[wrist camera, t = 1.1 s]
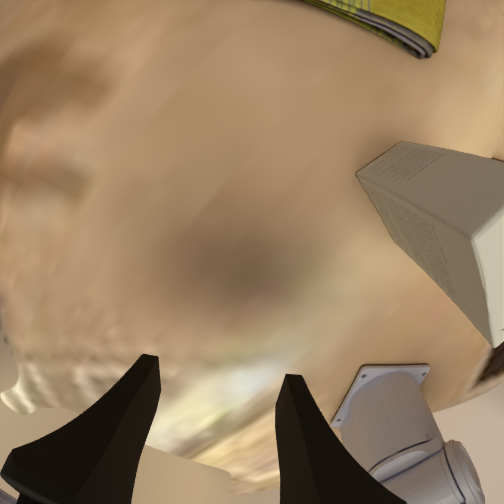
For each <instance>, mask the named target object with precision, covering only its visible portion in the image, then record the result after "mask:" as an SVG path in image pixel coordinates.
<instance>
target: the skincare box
mask: <svg viewBox="0 0 504 504" xmlns="http://www.w3.org/2000/svg"><path fill="white" fill-rule="evenodd" d="M356 176H357V177H358V179H359V181H360V182H361V184H362V186H363V187H364V189H365V190H366V192H367V194H368V195H369V197H370V199H371V200H372V202H373V204H374V206H375V207H376V209H377V211H378V212H379V214H380V216H381V218H382V220H383V221H384V223H385V225H386V227H387V228H388V230H389V232H390V234H391V236H392V238H393V240H394V242H395V243H396V244H397V245H398V246H399V247H400V248H401V249H402V250H403V251H404V252H405V253H406V254H407V255H408V256H409V257H410V258H411V259H413V260H414V261H415V262H416V263H417V264H418V265H419V266H420V267H421V268H422V269H423V270H424V271H425V272H426V273H427V274H428V275H429V276H430V277H431V278H432V279H433V280H434V281H435V283H436V284H437V285H438V286H439V287H440V288H441V289H442V290H443V291H444V292H445V293H446V294H447V295H448V296H449V297H450V298H451V300H452V301H453V302H454V303H455V304H456V305H457V306H458V307H459V308H460V309H461V311H462V312H463V313H464V314H465V315H466V316H467V317H468V319H469V320H470V321H471V322H472V323H473V325H474V326H475V327H476V328H477V329H478V330H479V332H480V333H481V334H482V335H483V336H484V337H485V338H486V340H487V341H488V342H489V343H490V344H491V345H492V346H493V347H494V348H496V347H497V346H499V345H500V344H501V343H502V342H503V341H504V162H501V161H497V160H493V159H490V158H485V157H481V156H477V155H473V154H468V153H464V152H459V151H455V150H450V149H445V148H439V147H434V146H428V145H422V144H416V143H410V142H400V143H398V144H397V145H395V146H394V147H393V148H391V149H390V150H389V151H387V152H386V153H384V154H383V155H382V156H380V157H379V158H377V159H376V160H374V161H373V162H371V163H370V164H368V165H367V166H365V167H364V168H363V169H361V170H360V171H358V172H357V173H356Z"/></svg>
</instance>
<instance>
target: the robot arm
mask: <svg viewBox="0 0 504 504" xmlns="http://www.w3.org/2000/svg"><path fill="white" fill-rule="evenodd" d="M429 370H430V366H429V365H402V366H364V367H362V368H361V369H360V371H359V373H358V375H357V377H356V379H355V381H354V383H353V385H352V387H351V388H350V390H349V392H348V394H347V396H346V398H345V399H344V401H343V403H342V405H341V407H340V408H339V410H338V412H337V414H336V415H335V417H334V419H333V420H332V422H331V426H332V427H340V432H341V437H342V442H343V444H342V443H341V442H340V440H339V439H338V438H337V436H336V435H335V433H334V432H333V431H332V429H331V428H330V426H329V425H328V423H327V421H326V420H325V418H324V416H323V415H322V413H321V411H320V410H319V408H318V406H317V404H316V402H315V401H314V399H313V397H312V395H311V393H310V391H309V389H308V387H307V385H306V383H305V380H304V378H303V376H302V375H295V374H286V375H285V378H284V381H283V384H282V387H281V390H280V393H279V396H278V399H277V402H276V410H275V430H276V440H277V450H278V459H279V468H280V504H485V497H484V494H483V492H482V489H481V485H480V481H479V478H478V475H477V472H476V469H475V467H474V465H473V463H472V461H471V459H470V457H469V455H468V453H467V451H466V449H465V448H464V446H463V445H462V443H461V442H459V441H454V440H449V441H448V442H447V443H446V442H445V441H444V440H443V437H442V435H441V433H440V431H439V428H438V426H437V424H436V422H435V420H434V417H433V415H432V413H431V411H430V408H429V406H428V404H427V402H426V400H425V398H424V396H423V394H422V392H421V389H420V387H419V386H420V385H421V383H422V381H423V380H424V378H425V377H426V375H427V374H428V372H429ZM363 374H364V375H363ZM160 393H161V382H160V371H159V358H158V356H153V355H148V354H142V355H141V356H140V357H139V358H138V360H137V361H136V362H135V363H134V364H133V365H132V367H131V368H130V369H129V370H128V371H127V372H126V373H125V374H124V375H123V377H122V378H121V379H120V380H119V381H118V382H117V383H116V384H115V385H114V386H113V387H112V388H111V389H110V390H109V391H108V392H107V393H105V394H104V395H103V396H102V397H101V398H100V399H99V400H98V401H97V402H96V403H94V404H93V405H92V406H91V407H90V408H88V409H87V410H86V411H84V412H83V413H82V414H80V415H79V416H78V417H76V418H75V419H73V420H72V421H71V422H69V423H67V424H66V425H64V426H62V427H61V428H59V429H57V430H56V431H54V432H52V433H50V434H48V435H46V436H44V437H42V438H40V439H38V440H36V441H33V442H31V443H28V444H25V445H23V446H20V447H17V448H15V449H12V451H11V453H10V454H9V455H8V458H7V459H6V462H5V464H4V466H3V468H2V470H1V472H0V475H1V477H2V478H3V479H4V480H5V481H6V482H7V483H8V484H9V485H10V486H12V487H13V488H14V489H15V490H16V491H18V492H19V493H20V495H19V497H18V500H17V499H16V498H14V497H12V496H11V495H9V494H8V493H6V492H4V491H3V490H1V489H0V504H131V500H132V494H133V488H134V483H135V478H136V472H137V468H138V463H139V459H140V456H141V453H142V450H143V447H144V444H145V441H146V439H147V436H148V433H149V430H150V427H151V425H152V422H153V419H154V416H155V413H156V410H157V406H158V402H159V397H160Z"/></svg>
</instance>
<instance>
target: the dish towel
mask: <svg viewBox="0 0 504 504" xmlns="http://www.w3.org/2000/svg"><path fill="white" fill-rule="evenodd" d="M304 1H307V2H309V3H312V4H314V5H316V6H319V7H321V8H323V9H326V10H328V11H330V12H332V13H335V14H337V15H339V16H341V17H343V18H345V19H348V20H350V21H352V22H354V23H356V24H358V25H360V26H362V27H364V28H366V29H368V30H370V31H372V32H373V33H375V34H377V35H379V36H381V37H383V38H384V39H386V40H388V41H390V42H391V43H393V44H395V45H396V46H398V47H400V48H401V49H403V50H404V51H406V52H408V53H409V54H411V55H413V56H415V57H417V58H419V59H422V58H423V57H425V58H431V55H432V53H436V52H438V48H439V44H440V38H441V32H442V27H443V19H444V11H445V3H446V0H304Z"/></svg>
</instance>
